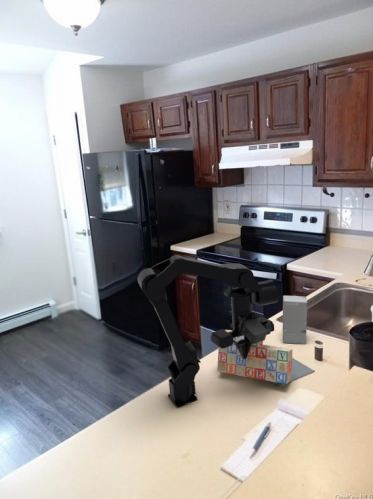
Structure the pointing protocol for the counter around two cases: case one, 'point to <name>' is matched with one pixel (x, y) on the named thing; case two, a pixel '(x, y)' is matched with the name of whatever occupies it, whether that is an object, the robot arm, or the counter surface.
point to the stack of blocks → (257, 362)
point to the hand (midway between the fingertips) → (244, 358)
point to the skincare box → (294, 319)
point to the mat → (297, 371)
